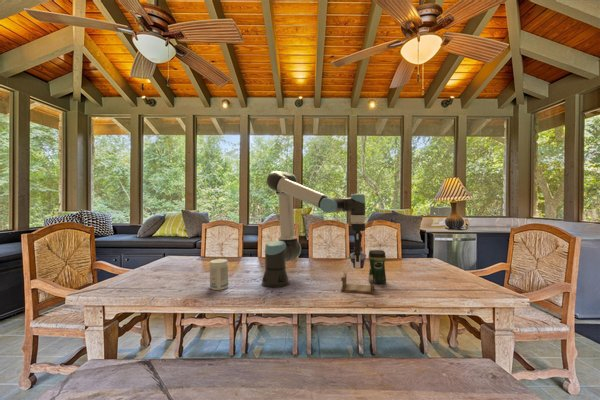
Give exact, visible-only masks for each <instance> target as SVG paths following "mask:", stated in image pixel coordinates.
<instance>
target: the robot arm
mask: <svg viewBox="0 0 600 400" xmlns="http://www.w3.org/2000/svg"><path fill="white" fill-rule="evenodd" d="M266 184H267V187H268V188H269V189H270V190H272V191H275V194H276V196H277V197H278V209H279V210H278V211H279V227H280V235H279V238H278V240H273V241H270V242H268V243H266V244H265V248H264V255H265V257H264V267H265V268H264V273H263V276H262V279H261V284H262V285H263V286H264V287H267V288H281V287H286V286H287V285H289V283H290V281H289V276H288V272H287V269H286V268H287V267H286V265H287V262H289V261H293V260H295V259H296V258H298V257H299V256H300V255H301V252H302V245H301V243H300V242H299V241H298V237H297V236H296V234H295V216H294V198H295V199H297V200H300V201H303V202H305V203H307V204H309V205H312V206H314V207H316V208H318V209H320V210H321V211H322V212H323V213H328V214H332V213H338V212H339V213H340V212H343V213H344V212H350V230H351V231H353V232H355V233H354V234H353V238H354V247H355V250H354V253H355V254H354V255H355V268H354V269H361V268H360V245H361V246H362V241H363V240H362V238H363V233H361V232H364V231H366V219H367V216H366V195H365V194H364V193H352V194H350V197H332V196H329V195H327V194H324V193H322V192H319V191H316V190H314V189H312V188H310V187H307V186H305V185H302V184H300V183H298V179H297V177H296V175H295V174H293V173H291V172H289V171H282V170H281V171H280V170H274V171H272V172H270V173H268V175H267V177H266ZM361 252H363V249H362V250H361Z"/></svg>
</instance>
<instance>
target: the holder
mask: <svg viewBox="0 0 600 400" xmlns="http://www.w3.org/2000/svg"><path fill="white" fill-rule="evenodd" d="M340 280H341V282H342V285H341V289H340V292H343V293H344V292H346V293H354V292H355V293H358V294H367V295H375V285H374V284H373V283H375V280H374V279H373V275H371V283H370V285H367V284H354V283H347V272H344V273H343V275H342V276H341V279H340ZM355 293H354V294H355Z"/></svg>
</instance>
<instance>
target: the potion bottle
mask: <svg viewBox="0 0 600 400" xmlns="http://www.w3.org/2000/svg"><path fill="white" fill-rule="evenodd" d="M353 250H354V251H355V246H353ZM361 250H362V251H363V247H362V244H361V245H360V268H359V269H364V265H365V261H366V259H367V254H366V253H364V252H362V251H361ZM354 254H355V252H352V253H350V254H349V256H350V262H351V263H352V268H353V269H356V268H355V255H354Z"/></svg>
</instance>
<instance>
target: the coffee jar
mask: <svg viewBox="0 0 600 400" xmlns="http://www.w3.org/2000/svg"><path fill="white" fill-rule="evenodd" d="M386 259H387V257H386V251H384V250H383V249H372V250H371V249H370V250H369V251H368V260H369V271H368V282H369V283H370V284H371V275H373V279H374V280H375V283H373V285H374V284H376V285H377V284H378V285H381V284H382V285H383V284H385V283H387V275H386V267H385V263H386Z"/></svg>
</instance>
